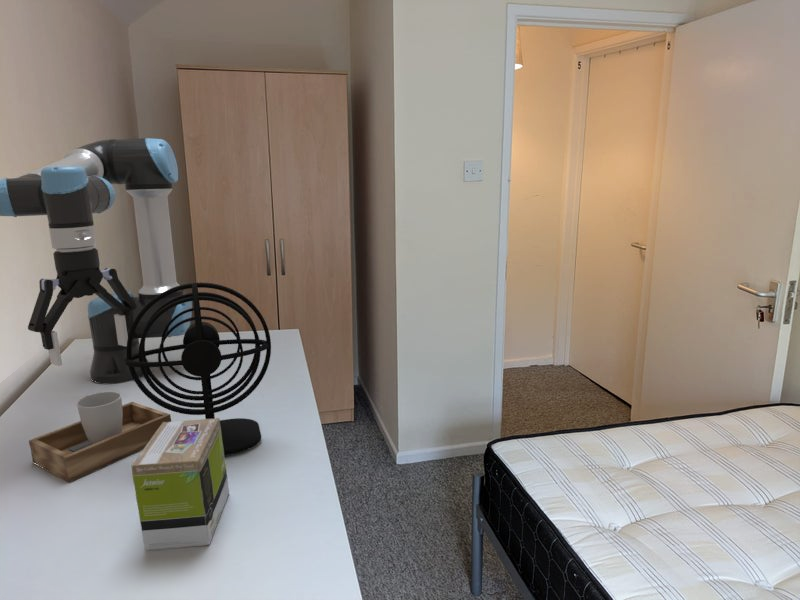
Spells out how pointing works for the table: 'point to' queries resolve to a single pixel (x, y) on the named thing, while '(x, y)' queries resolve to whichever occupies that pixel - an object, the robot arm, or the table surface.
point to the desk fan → (203, 362)
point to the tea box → (181, 484)
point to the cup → (101, 415)
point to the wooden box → (76, 455)
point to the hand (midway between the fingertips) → (91, 354)
